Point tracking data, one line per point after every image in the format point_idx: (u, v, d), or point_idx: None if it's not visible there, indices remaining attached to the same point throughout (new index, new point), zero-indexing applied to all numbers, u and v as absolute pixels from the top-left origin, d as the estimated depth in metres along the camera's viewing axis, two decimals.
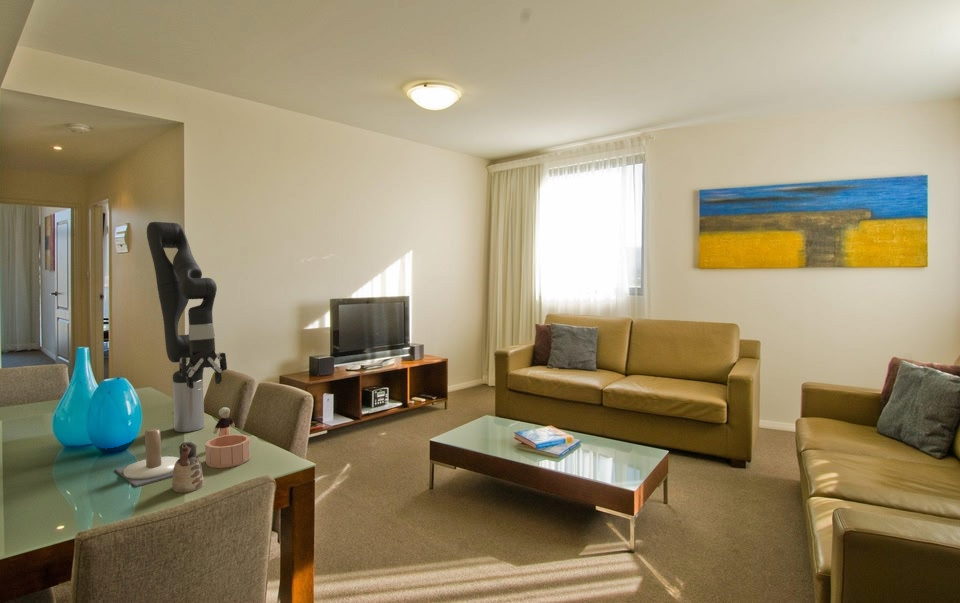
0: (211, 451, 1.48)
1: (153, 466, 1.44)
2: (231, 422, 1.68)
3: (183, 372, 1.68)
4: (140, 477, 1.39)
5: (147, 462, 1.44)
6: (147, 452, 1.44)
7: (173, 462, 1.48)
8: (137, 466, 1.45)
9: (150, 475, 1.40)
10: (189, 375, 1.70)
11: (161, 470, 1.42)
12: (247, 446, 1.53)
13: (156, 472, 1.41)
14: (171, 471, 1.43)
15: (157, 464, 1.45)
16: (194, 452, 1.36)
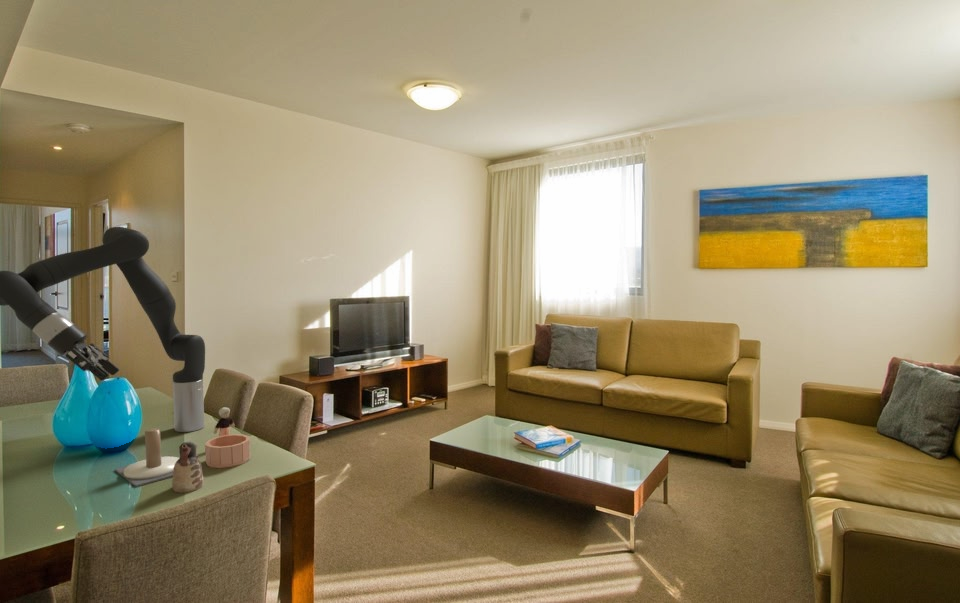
0: (211, 451, 1.48)
1: (153, 466, 1.44)
2: (231, 422, 1.68)
3: None
4: (140, 477, 1.39)
5: (147, 462, 1.44)
6: (147, 452, 1.44)
7: (173, 462, 1.48)
8: (137, 466, 1.45)
9: (150, 475, 1.40)
10: None
11: (161, 470, 1.42)
12: (247, 446, 1.53)
13: (156, 472, 1.41)
14: (171, 471, 1.43)
15: (157, 464, 1.45)
16: (194, 452, 1.36)
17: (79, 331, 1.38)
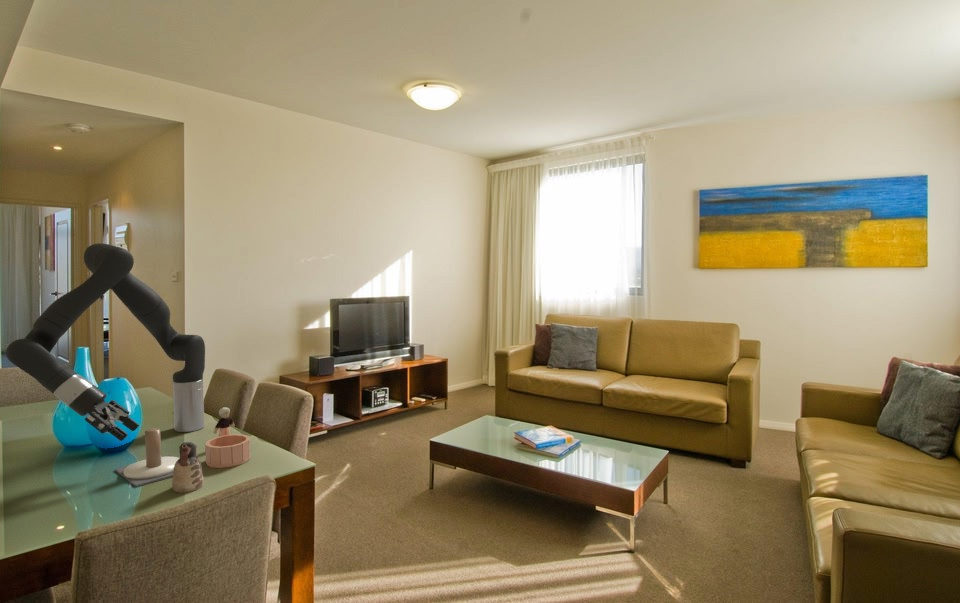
0: (211, 451, 1.48)
1: (153, 466, 1.44)
2: (231, 422, 1.68)
3: None
4: (140, 477, 1.39)
5: (147, 462, 1.44)
6: (147, 452, 1.44)
7: (173, 462, 1.48)
8: (137, 466, 1.45)
9: (150, 475, 1.40)
10: None
11: (161, 470, 1.42)
12: (247, 446, 1.53)
13: (156, 472, 1.41)
14: (171, 471, 1.43)
15: (157, 464, 1.45)
16: (194, 452, 1.36)
17: (98, 392, 1.40)
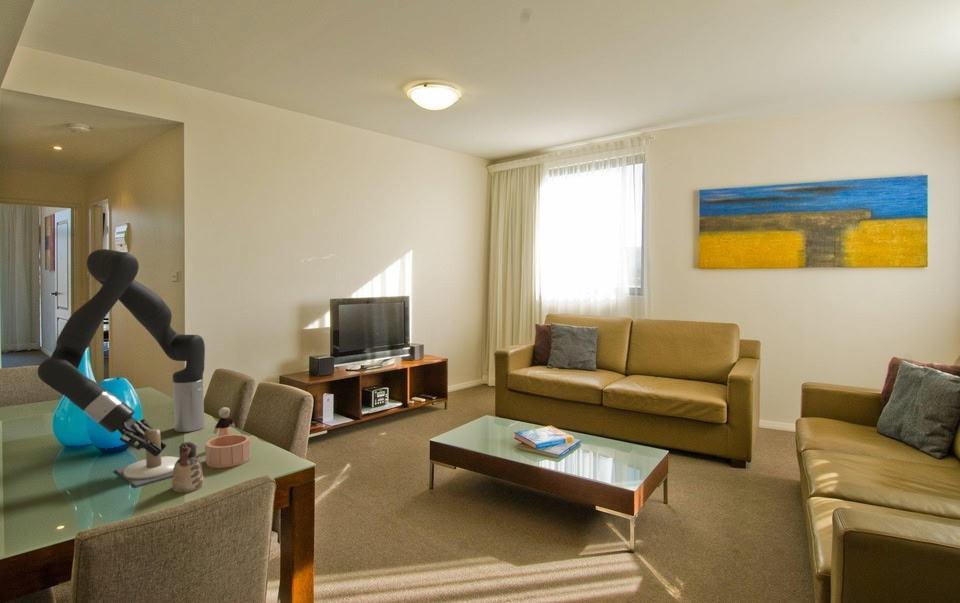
0: (211, 451, 1.48)
1: (153, 466, 1.44)
2: (231, 422, 1.68)
3: None
4: (140, 477, 1.39)
5: (147, 462, 1.44)
6: (147, 452, 1.44)
7: (173, 462, 1.48)
8: (137, 466, 1.45)
9: (150, 475, 1.40)
10: None
11: (161, 470, 1.42)
12: (247, 446, 1.53)
13: (156, 472, 1.41)
14: (171, 471, 1.43)
15: (157, 464, 1.45)
16: (194, 452, 1.36)
17: (127, 409, 1.42)
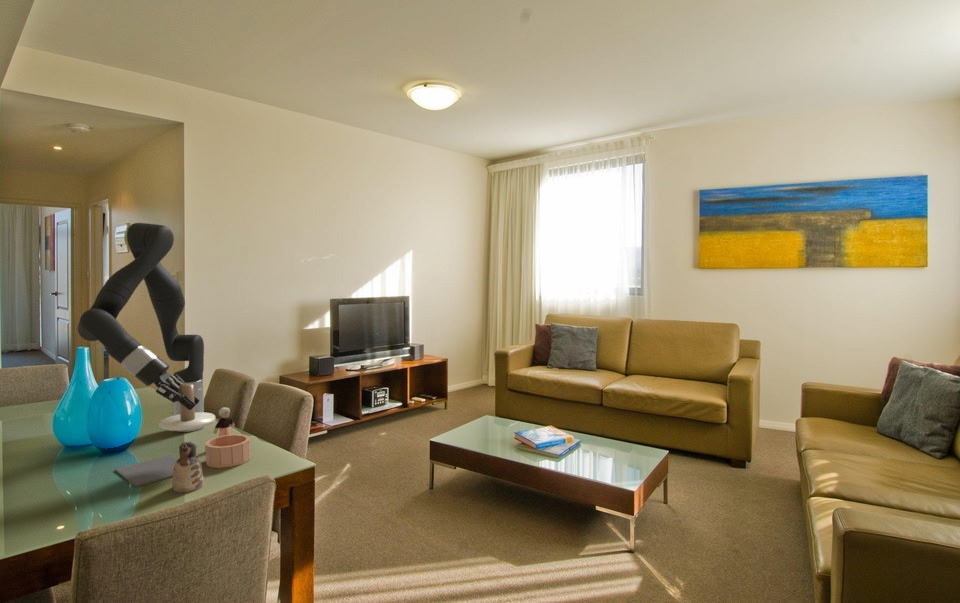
0: (211, 451, 1.48)
1: (187, 419, 1.47)
2: (231, 422, 1.68)
3: None
4: (175, 429, 1.42)
5: (181, 415, 1.47)
6: (181, 406, 1.47)
7: (206, 417, 1.51)
8: (172, 419, 1.48)
9: (185, 427, 1.43)
10: None
11: (195, 423, 1.45)
12: (247, 446, 1.53)
13: (190, 424, 1.44)
14: (204, 424, 1.46)
15: (191, 418, 1.48)
16: (194, 452, 1.36)
17: (162, 363, 1.45)
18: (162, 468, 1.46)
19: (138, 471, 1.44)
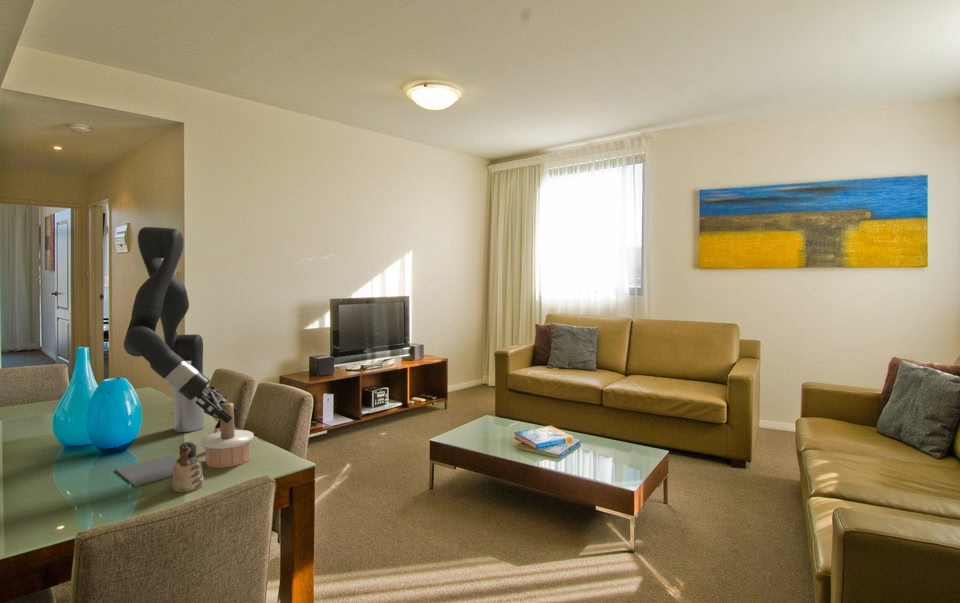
0: (211, 451, 1.48)
1: (228, 437, 1.52)
2: None
3: None
4: (218, 447, 1.46)
5: (222, 434, 1.52)
6: (222, 424, 1.51)
7: (244, 434, 1.56)
8: (212, 438, 1.53)
9: (227, 445, 1.47)
10: None
11: (236, 441, 1.50)
12: (247, 446, 1.53)
13: (232, 443, 1.49)
14: (245, 442, 1.51)
15: (231, 436, 1.52)
16: (194, 452, 1.36)
17: (204, 377, 1.50)
18: (162, 468, 1.46)
19: (138, 471, 1.44)
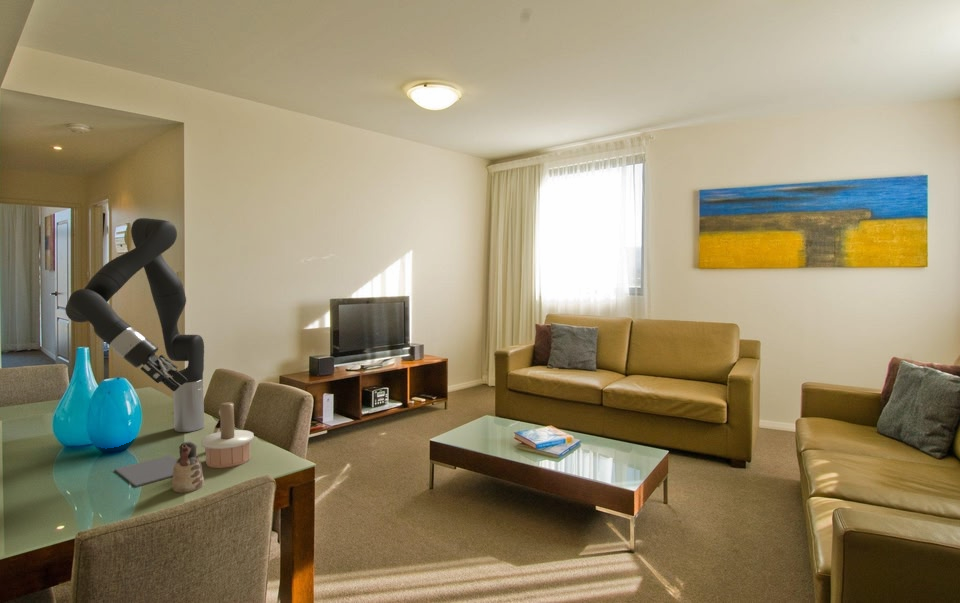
0: (211, 451, 1.48)
1: (228, 437, 1.52)
2: None
3: None
4: (218, 447, 1.46)
5: (222, 434, 1.52)
6: (222, 424, 1.51)
7: (244, 434, 1.56)
8: (212, 438, 1.53)
9: (227, 445, 1.47)
10: None
11: (236, 441, 1.50)
12: (247, 446, 1.53)
13: (232, 443, 1.49)
14: (245, 442, 1.51)
15: (231, 436, 1.52)
16: (194, 452, 1.36)
17: (151, 344, 1.45)
18: (162, 468, 1.46)
19: (138, 471, 1.44)
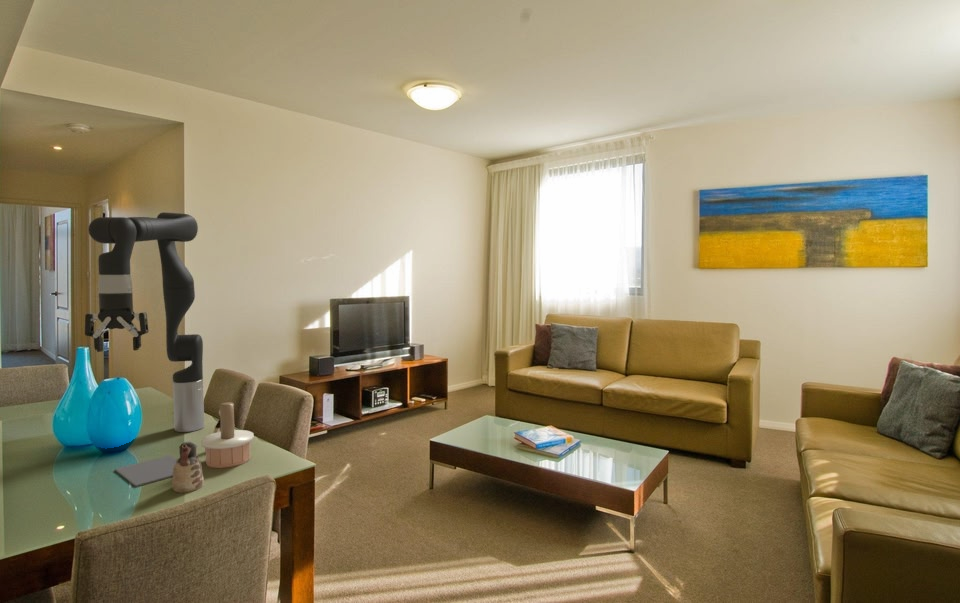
0: (211, 451, 1.48)
1: (228, 437, 1.52)
2: None
3: (86, 331, 1.39)
4: (218, 447, 1.46)
5: (222, 434, 1.52)
6: (222, 424, 1.51)
7: (244, 434, 1.56)
8: (212, 438, 1.53)
9: (227, 445, 1.47)
10: (94, 335, 1.39)
11: (236, 441, 1.50)
12: (247, 446, 1.53)
13: (232, 443, 1.49)
14: (245, 442, 1.51)
15: (231, 436, 1.52)
16: (194, 452, 1.36)
17: None
18: (162, 468, 1.46)
19: (138, 471, 1.44)
